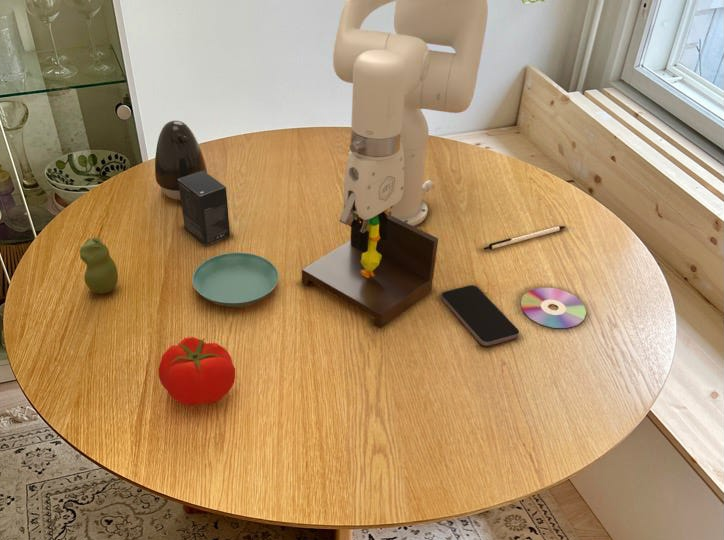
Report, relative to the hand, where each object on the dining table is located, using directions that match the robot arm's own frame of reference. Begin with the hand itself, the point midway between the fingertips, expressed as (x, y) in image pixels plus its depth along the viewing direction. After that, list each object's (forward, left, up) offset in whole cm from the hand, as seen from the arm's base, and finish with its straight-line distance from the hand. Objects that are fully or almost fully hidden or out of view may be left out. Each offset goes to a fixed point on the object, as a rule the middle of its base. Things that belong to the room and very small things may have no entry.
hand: (369, 241), depth 125 cm
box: (+8, -33, -10) cm, 35 cm away
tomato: (+37, -1, -10) cm, 38 cm away
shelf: (0, 0, -10) cm, 10 cm away
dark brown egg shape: (+2, -47, -10) cm, 48 cm away
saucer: (+16, -16, -10) cm, 25 cm away
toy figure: (0, 0, -7) cm, 7 cm away
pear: (+32, -32, -10) cm, 46 cm away
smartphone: (-7, +19, -10) cm, 22 cm away
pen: (-33, +12, -10) cm, 37 cm away
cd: (-18, +27, -10) cm, 34 cm away
